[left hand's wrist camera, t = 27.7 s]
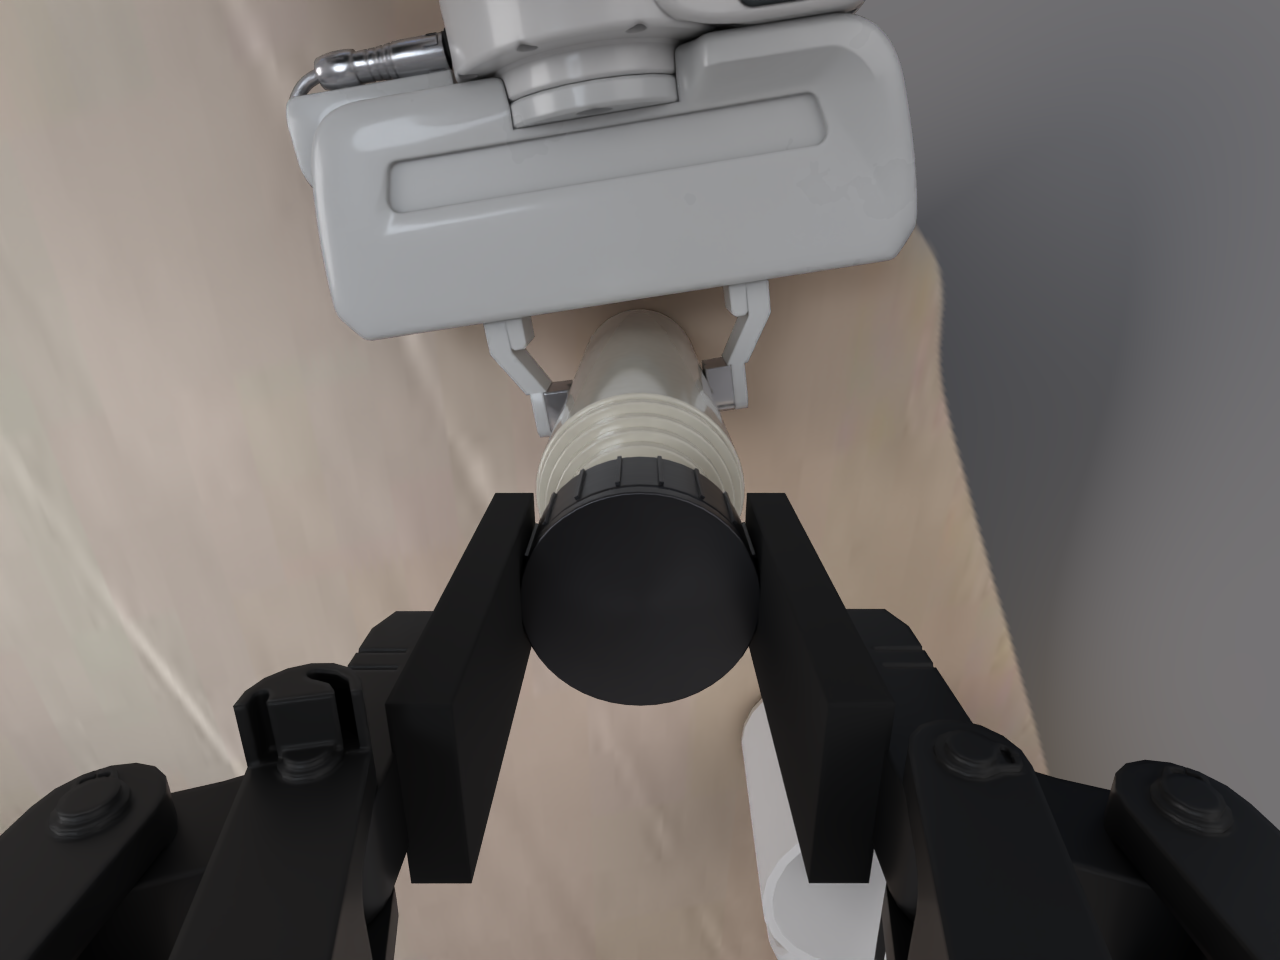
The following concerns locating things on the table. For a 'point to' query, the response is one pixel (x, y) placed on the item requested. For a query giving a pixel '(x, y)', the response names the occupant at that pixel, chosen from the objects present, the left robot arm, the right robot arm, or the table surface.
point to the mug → (801, 870)
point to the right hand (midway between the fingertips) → (644, 419)
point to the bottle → (639, 408)
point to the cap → (640, 582)
